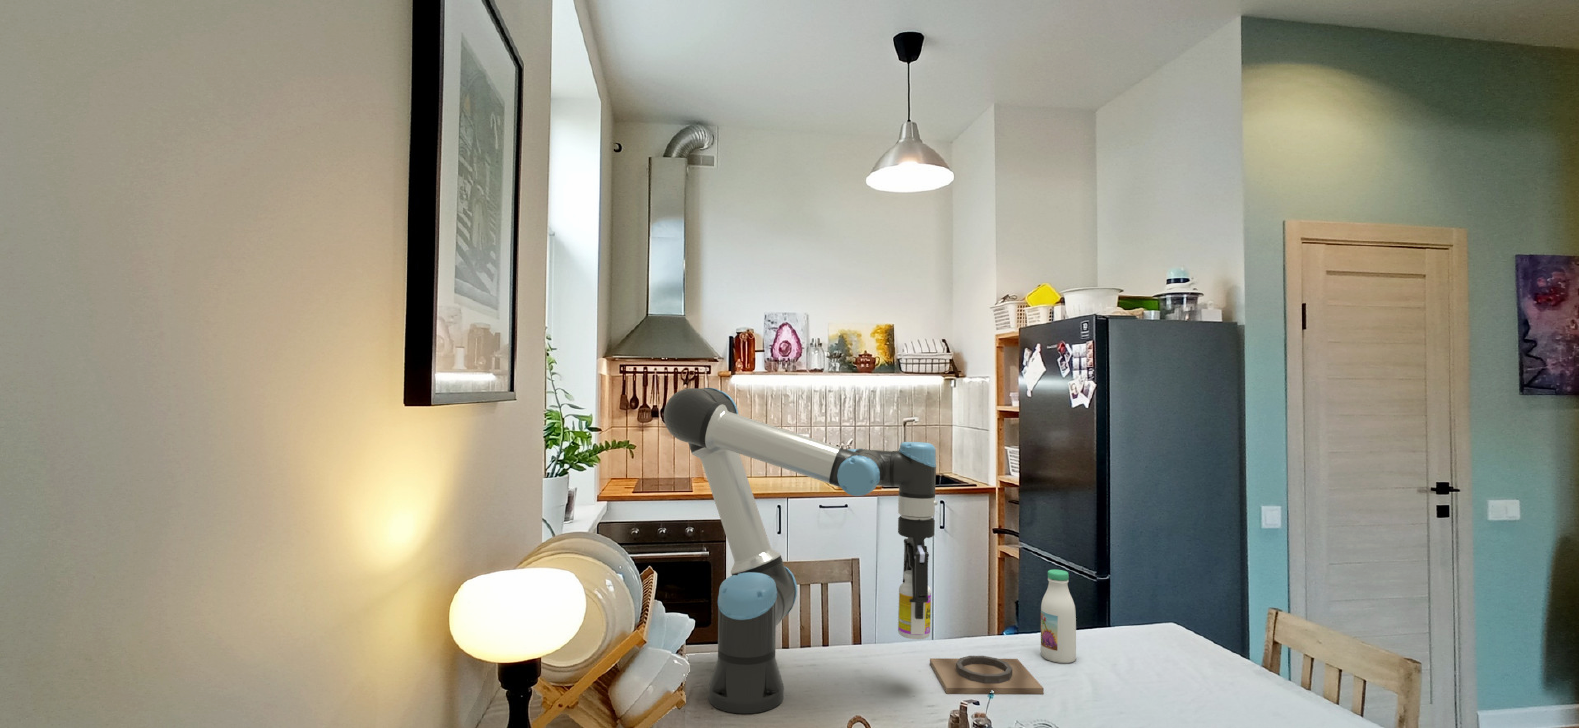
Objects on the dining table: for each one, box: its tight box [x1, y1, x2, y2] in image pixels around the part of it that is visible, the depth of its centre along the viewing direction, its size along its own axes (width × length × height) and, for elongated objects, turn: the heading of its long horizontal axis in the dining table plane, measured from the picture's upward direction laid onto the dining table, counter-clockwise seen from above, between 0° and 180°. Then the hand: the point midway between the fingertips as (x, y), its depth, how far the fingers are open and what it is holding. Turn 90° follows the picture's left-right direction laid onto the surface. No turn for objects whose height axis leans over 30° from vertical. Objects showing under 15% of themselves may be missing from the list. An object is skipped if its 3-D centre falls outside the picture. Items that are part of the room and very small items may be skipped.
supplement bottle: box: [897, 570, 932, 640], centre depth 149 cm, size 7×7×13 cm
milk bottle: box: [1040, 569, 1077, 664], centre depth 168 cm, size 8×8×20 cm
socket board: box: [929, 655, 1045, 695], centre depth 155 cm, size 20×16×3 cm
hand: (914, 627), depth 149 cm, fingers closed on supplement bottle, 7 cm apart
